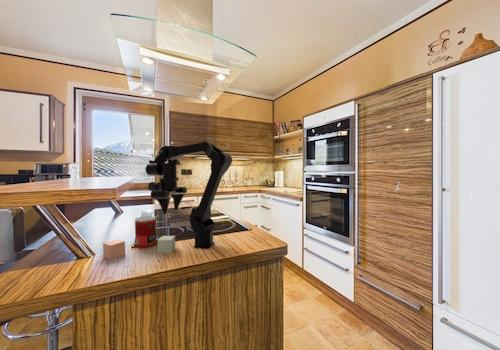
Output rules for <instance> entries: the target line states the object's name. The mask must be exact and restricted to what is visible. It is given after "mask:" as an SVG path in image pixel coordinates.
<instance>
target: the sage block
mask: <svg viewBox="0 0 500 350" xmlns="http://www.w3.org/2000/svg"><path fill="white" fill-rule="evenodd" d="M175 249H176V235H162V236H161V237H160V238H159V239H158V238H157V254H172V253H173V252H174V250H175Z"/></svg>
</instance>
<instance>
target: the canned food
mask: <svg viewBox="0 0 500 350" xmlns="http://www.w3.org/2000/svg"><path fill="white" fill-rule="evenodd" d="M134 223H135V224H134V228H135V229H134V233H135V237H134V238H135V246H136V247H137V248H139V249H145V248H146V247H147V248H151V247H154V246H155V245H156V244H157V217H156V216H152V215H151V216H140V217H136V218H135V220H134Z"/></svg>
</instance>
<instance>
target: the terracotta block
mask: <svg viewBox="0 0 500 350" xmlns="http://www.w3.org/2000/svg"><path fill="white" fill-rule="evenodd" d="M102 246H103V247H102V249H103V250H102V251H103V257H104V258H106V259H108V260H110V261H111V260H114V259H116V258H120V257H123V256H125V255H126V241H124V240H121V239H120V238H119V239H118V238H116V239H114V240H110V241H106V242H103V243H102Z"/></svg>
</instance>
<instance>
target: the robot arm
mask: <svg viewBox="0 0 500 350" xmlns="http://www.w3.org/2000/svg"><path fill="white" fill-rule="evenodd" d="M201 153H204V155H206V157H207V158H209V160H211V161H210V175H209V177H208V180H207V183H206V185H205V187H204V191H203V194H202V196H201V199H200V202H199V204H198V205H196V206H194V207H192V208H191V212H190V214H189V215H188V218H189V223H190V225H191V228H192V230H193V231H192V232H193V233H195V234H194V245H193V248H197V249H199V248H200V249H210V248H211V247H212V246H213V245H214V244H215V243H216V242H215V241H214V230H213V229H215V226H216V223H215V221H214V220H213V219H212V218H211V216H212V209H211V207H212V205H213V202H214V199H215V197H216V194H217V191H218V189H219V186H220V184H221V180H222V178H223V176H224V175H225V174H226V172H228V170H229V169H230V166H231V165H232V163H233V158H232V155H231V154H229V153H228V152H225V151H223V150H221V149H220V148H218V147H217V146H215V144H213V142H210V141H202V142H197V143H190V144H186V145H180V146H177V145H176V146H175V145H162V146H161V147H160V149H159V152H158V153H157V155H156V156H155V158H154V159H153V160H151V159H150V160H148V164H146V166H145V173H146V175H147V176H149V177H153V176H155V177H156V176H157V177H159V176H160V177H161V176H162V177H161V178H160V179H159V182H155V181H151V182H149V183H148V185H147V189H148V191H150V199H154V200H156V202H158V203H159V206H160V208H161V211H162V213H163V214H164V215H167V214H168V210H169V206H170V200H171V198H172V199H173V200H172V202H173V208H174V211H177V210H178V209H179V207H180V204H181V202H182V201H183V198H184V197H185V195H186V194H187V193H188V190H187V188H186V186H178V181H179V180H180V178H179V177H178V175H177V173H178V172H177V169H178V168H177V166H179V165H182V163H181V162H180V161H179V160H178V159H181V158H182V157H185V156H189V155H195V154H201ZM170 196H171V197H170Z"/></svg>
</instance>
